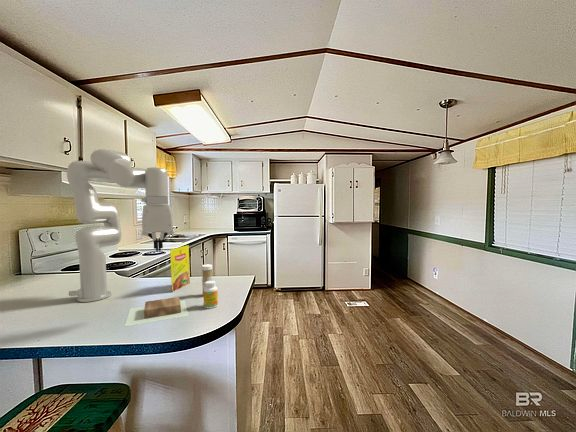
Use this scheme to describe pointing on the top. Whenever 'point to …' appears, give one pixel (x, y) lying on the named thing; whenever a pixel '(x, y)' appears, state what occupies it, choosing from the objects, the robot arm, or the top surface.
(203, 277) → the sprinkles bottle
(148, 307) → the walnut plank
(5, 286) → the top surface
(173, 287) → the food package
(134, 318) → the mat
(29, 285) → the top surface
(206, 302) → the supplement bottle
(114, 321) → the top surface
